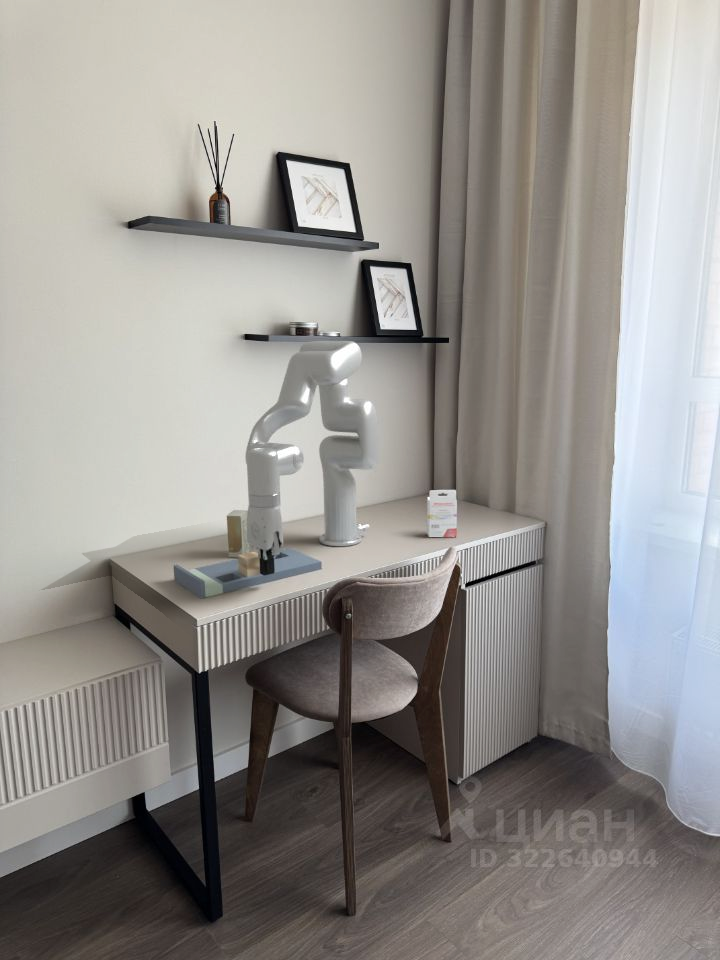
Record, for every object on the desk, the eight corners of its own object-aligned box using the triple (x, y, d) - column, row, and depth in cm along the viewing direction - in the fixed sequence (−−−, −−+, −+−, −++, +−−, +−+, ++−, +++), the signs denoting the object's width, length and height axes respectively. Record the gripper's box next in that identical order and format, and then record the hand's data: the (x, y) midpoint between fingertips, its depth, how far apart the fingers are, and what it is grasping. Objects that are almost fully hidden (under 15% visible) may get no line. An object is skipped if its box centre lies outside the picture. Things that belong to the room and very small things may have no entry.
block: (254, 568, 182) (253, 551, 181) (263, 573, 178) (262, 555, 178) (238, 572, 179) (238, 555, 178) (247, 576, 176) (246, 559, 175)
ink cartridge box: (454, 533, 219) (455, 486, 216) (456, 537, 214) (457, 490, 211) (426, 533, 219) (427, 486, 216) (428, 538, 214) (428, 490, 211)
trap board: (289, 554, 200) (289, 540, 199) (321, 568, 187) (321, 554, 187) (174, 580, 180) (173, 565, 179) (201, 598, 167) (200, 582, 167)
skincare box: (235, 551, 204) (233, 509, 202) (250, 551, 203) (248, 509, 201) (228, 557, 198) (225, 515, 195) (243, 558, 197) (241, 515, 195)
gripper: (235, 497, 174) (239, 569, 177) (266, 508, 162) (269, 585, 166) (262, 492, 178) (265, 563, 182) (294, 503, 166) (296, 578, 170)
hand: (267, 573), depth 174 cm, fingers closed
